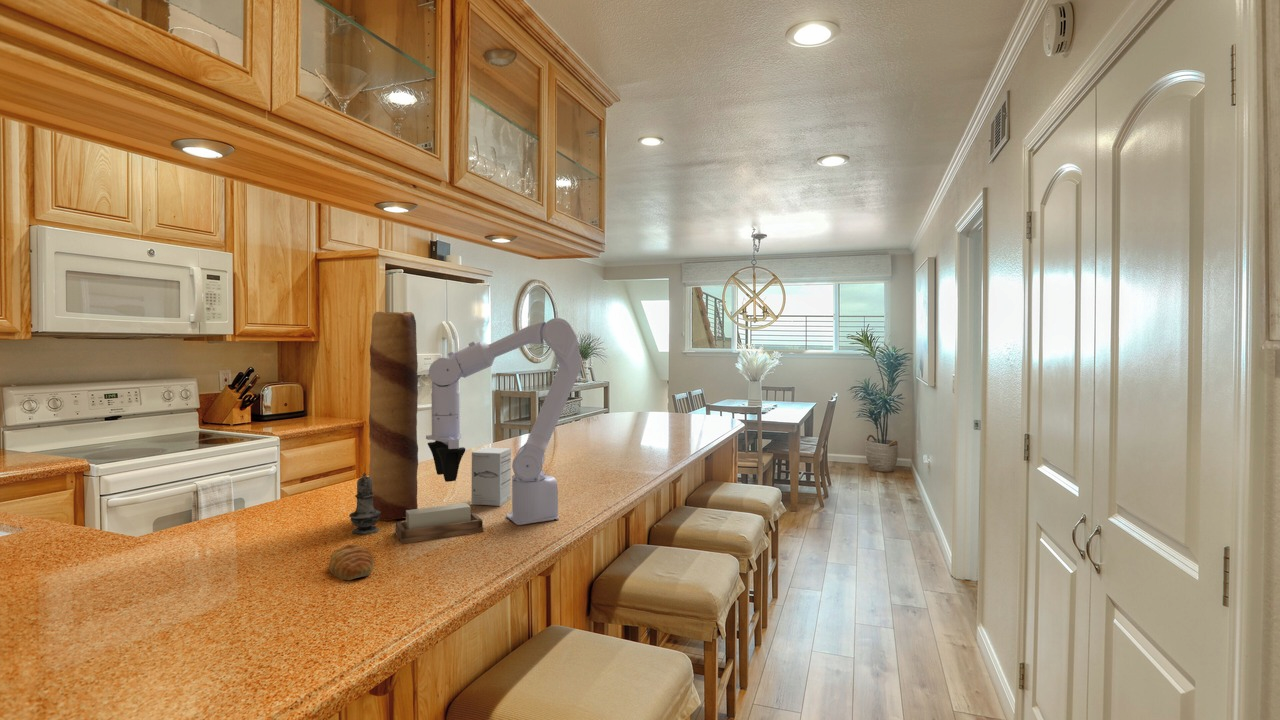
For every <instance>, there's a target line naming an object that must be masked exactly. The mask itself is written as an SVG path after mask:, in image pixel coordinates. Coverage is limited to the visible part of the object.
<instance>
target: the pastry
mask: <svg viewBox="0 0 1280 720" xmlns="http://www.w3.org/2000/svg"><path fill="white" fill-rule="evenodd" d="M374 563H375V558H374V556H373V554H372V551H371V550H370V549H369V548H368V547H365V546H361V545H360V544H355V543H350V544H346V545H343V546H342V547H340V548H337V549H336V550H335V551H333V552H332V555H331V557H330V559H329V563H328V566H327V567H328V569H329V571H330V573H331V574H332V575H333V576H335V577H336V578H338V579H341V580H347V581H352V580H354V579H358V578H363V577H368V576H369V575H370V573H371V572H372V570H373V567H374Z"/></svg>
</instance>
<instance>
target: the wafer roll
mask: <svg viewBox="0 0 1280 720" xmlns="http://www.w3.org/2000/svg"><path fill="white" fill-rule="evenodd" d="M416 322H417V321H416V318H415V314H414V313H413V312H411V311H406V312H404V311H403V312H396V311H395V312H394V311H393V312H392V311H391V312H390V311H388V312H382V311H375V312H374V313H373V316H372V320H371V335H370V345H369V356H370V361H369V368H370V369H369V370H370V390H369V391H370V393H369V415H368V424H369V425H368V427H369V432H368V433H369V434H368V438H369V439H368V440H369V443H370V445H369V456H370V457H369V465H368V467H369V473H368V477H369V478H371V479H372V493H374V496H373V507H374V509H375V510H378V511H380V512H381V513H380V514H379V518H378V521H389V520H397V519H398V520H399V519H400V520H401V519H406V510H413V509H419V508H418V507H419V506H418V467H419V454H418V453H419V446H418V445H419V444H418V432H417V431H418V430H417V429H418V419H417V418H418V398H419V391H418V385H419V384H418V383H419V378H418V370H419V369H418V364H419V363H418V349H417V347H418V346H417V345H418V344H417V343H418V342H417V341H418V340H417V323H416Z"/></svg>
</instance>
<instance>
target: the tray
mask: <svg viewBox="0 0 1280 720" xmlns="http://www.w3.org/2000/svg"><path fill="white" fill-rule="evenodd" d="M483 522H484V521H483V519H482V518H481V517H479V515H477V514H476V513H475V512H474V511H471V521H465V522H458V523H451V524H444V525H437V526H429V527H422V528H415V529H408V530H406V520H403V521H395V529H394V532H396V533H395V534H396V536H397V538H398V539H399V541H400V543H401V544H402V545H404V544H409V543H415V542H416V543H417V542H420V541H421V542H422V541H429V540H435V539H441V538H442V539H443V538H448V537H449V538H450V537H455V536H462V535H468V534H475V533H482V532H484V527H483Z"/></svg>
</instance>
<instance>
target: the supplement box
mask: <svg viewBox="0 0 1280 720" xmlns="http://www.w3.org/2000/svg"><path fill="white" fill-rule="evenodd" d="M511 491H512V448H508V447H507V448H505V447H502V448H501V447H480V448H478V449H475V450H474V451H472V452H471V506H474V505H476V506H477V505H480V506H481V505H482V506H495V507H501V506H503V505H504V504H506V503H507V502H508V501H509V500H512V495H511V494H512V492H511Z"/></svg>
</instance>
